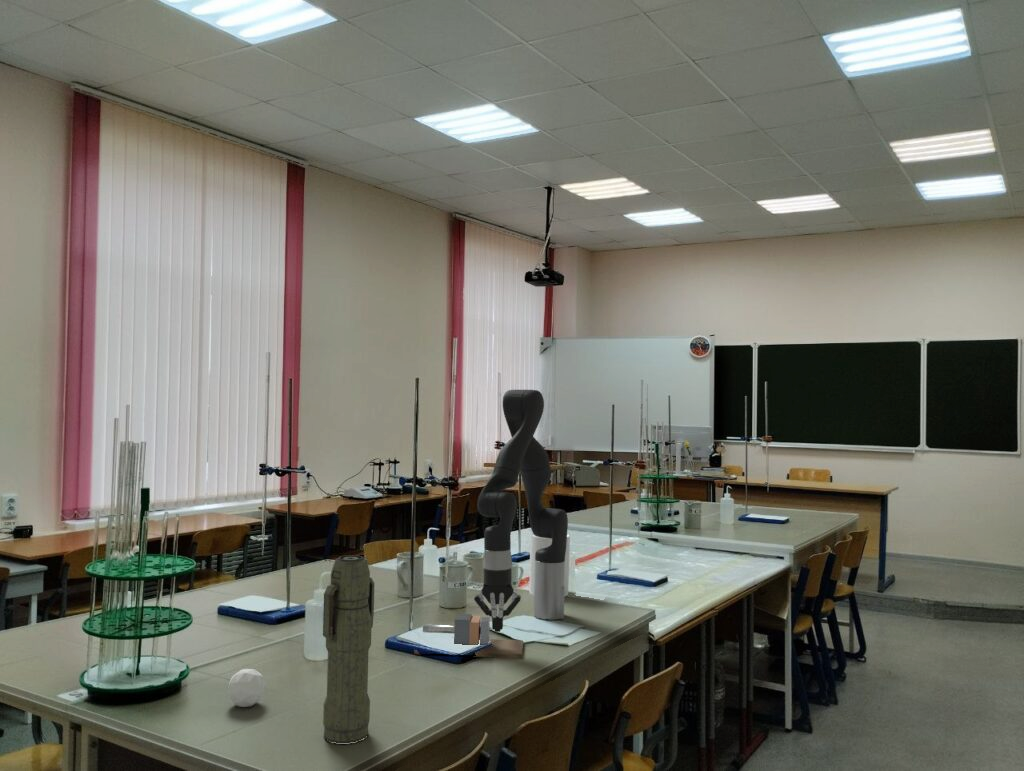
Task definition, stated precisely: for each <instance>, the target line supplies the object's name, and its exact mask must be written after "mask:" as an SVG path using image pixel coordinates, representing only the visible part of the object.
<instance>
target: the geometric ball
mask: <svg viewBox="0 0 1024 771" xmlns="http://www.w3.org/2000/svg"><path fill="white" fill-rule="evenodd" d="M265 689H266V680H265V679H264V676H263V675H262V674H261V673H260V671H257V670H256V669H254V668H242V669H241V670H239V671H237V672H236V673H235V674H233V675H232V676H231V679H230V681H229V683H228V686H227V696H228V697H229V700H230V701H231V702H232V704H234V705H236V706H237V707H239V708H240V707H241V708H248V707H249V708H250V707H252V706H254V705H255V704H257V703H258V702H259V701H261V700H262V698H263V695H264V693H265Z"/></svg>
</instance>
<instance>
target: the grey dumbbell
mask: <svg viewBox="0 0 1024 771" xmlns="http://www.w3.org/2000/svg"><path fill="white" fill-rule="evenodd" d="M490 619H491V616H482V617H481V625H480V627H479V634H480V645H488V642H489V639H490V624H491V623H490V621H491V620H490ZM454 626H455V625H449V624H448V625H443V624H423V625H422V632H423V633H430V634H431V633H432V634H433V633H434V634H436V633H437V634H454Z"/></svg>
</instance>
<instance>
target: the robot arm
mask: <svg viewBox="0 0 1024 771" xmlns="http://www.w3.org/2000/svg"><path fill="white" fill-rule="evenodd" d="M544 409H545V400H544V396H543V394H542V393H541V391H539V390H537V389H509V390H507V391H505V392H504V394H503V396H502V410H503V411H502V412H503V415H504V418H505V421H506V424H507V427H508V430H509V433H510V437H511V438H510V439H509V440H508V441H507V443H505V444H504V446H503V447H502V448H501V450H500V451H499V453H498V455H497V457H496V461H495V464H494V467H493V471H492V474H491V475H490V477H489V479H488V481H487V482H486V484H485V485H484V487H483V488H482V490H481V492H480V493H479V495H478V498H477V504H476V505H477V511H478V513H479V514H480V515H481V516H483V517H486V518H499V522H498V524H497V525H491V526H488V527H486V528H485V530H484V538H483V541H484V542H483V543H484V546H483V547H484V549H483V563H482V564H483V581H482V582H483V584H482V588H481V591H480V592H479V593H478V594H475V596H474V598H473V600H474V602H475V603H476V605H478V607H479V608H480V609H481V611H482V612H483V613H484V615H485V616H488V617H490V618H491V629H492V630H494V633H500V632H501V631H502V630H503V627H504V617H508V616H509V615H510V614H512V612H513V610H514V609H515V608H516V607H517V606H518V604H519V603H520V602H521V599H522V598H521V595H520V594H518V593H516V592H514V588H513V585H512V582H513V581H512V577H513V576H512V570H513V569H512V565H513V561H512V552H511V551H512V550H511V549H512V547H511V545H512V544H511V533H512V528H513V523H514V520H515V517H516V513H517V509H518V501H517V497H516V496H515V494H514V493H513V492H510V491H504V490H506V489H511V488H513V487H515V486H516V484H517V483H518V479H519V475H520V476H521V481H522V484H523V487H524V492H525V498H526V503H527V511H528V518H529V519H528V520H529V525H530V529H531V532H532V533H533V534H534V535H535V536H537V537H542V538H551V539H552V544H551V545H550V546H549V547H546V548H542V549H539V550H537V551H536V553H535V590H534V595H533V598H534V600H533V616H534V617H535V618H537V619H540V618H541V620H546V619H548V621H551V620H553V621H554V620H555V621H556V620H561V619H562V620H564V619H565V596H564V590H565V588H564V577H565V553H566V542H567V534H568V526H569V525H568V524H569V521H568V520H569V518H568V513H567V512H566V510H564V509H563V508H562V509H561V508H551V507H545V506H544V504H543V500H542V497H543V495H544V492H545V490H546V488H547V486H548V485H549V484H550V481H551V478H552V467H551V463H550V458H549V455H548V453H547V451H546V449H545V448H544V447H543V445H542V444H541V443H540V442H539V441H538V440H537V439H536V438H535V437H534V435H535V433H536V431H537V428H538V427H539V424H540V422H541V419H542V417H543V412H544ZM510 598H511V600H510ZM484 599H486V601H487V602H488V603H489V604H490V608H489V606H488V605H487V603H486V602H485V601H484ZM509 600H510V601H511V602H510V604H509V605H508V606H507V608H506V609H505V604H507V603H508V601H509ZM497 606H498V607H497ZM497 608H498V609H497Z"/></svg>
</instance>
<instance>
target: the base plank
mask: <svg viewBox="0 0 1024 771" xmlns="http://www.w3.org/2000/svg"><path fill="white" fill-rule="evenodd" d="M489 641H491V642H492V645H491V646H488V647H486V648H484V649H481V650H480V651H477V652H475V655H476V656H475V657H477V658H480V657H481V658H503V659H505V658H506V659H507V658H508V659H522V658H523V648H524V640H523V639H522V640H519V639H516V640H515V639H499V638H498V639H495V638H494V639H493V638H492V639H491V638H489ZM413 652H414V653H413V654H414V655H420V654H419V652H418V651H417V650H415V649H414V651H413Z"/></svg>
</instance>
